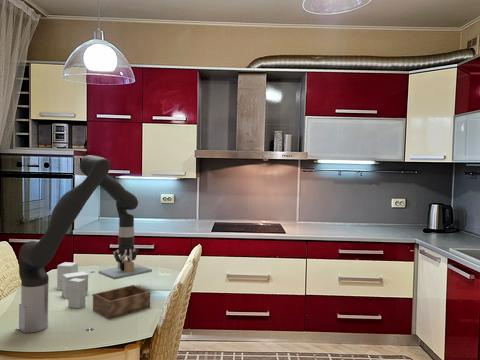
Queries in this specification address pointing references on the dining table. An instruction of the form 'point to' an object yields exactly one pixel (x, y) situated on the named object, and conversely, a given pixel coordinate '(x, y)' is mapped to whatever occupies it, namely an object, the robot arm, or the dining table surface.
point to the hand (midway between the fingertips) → (125, 269)
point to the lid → (125, 270)
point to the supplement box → (65, 272)
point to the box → (121, 301)
